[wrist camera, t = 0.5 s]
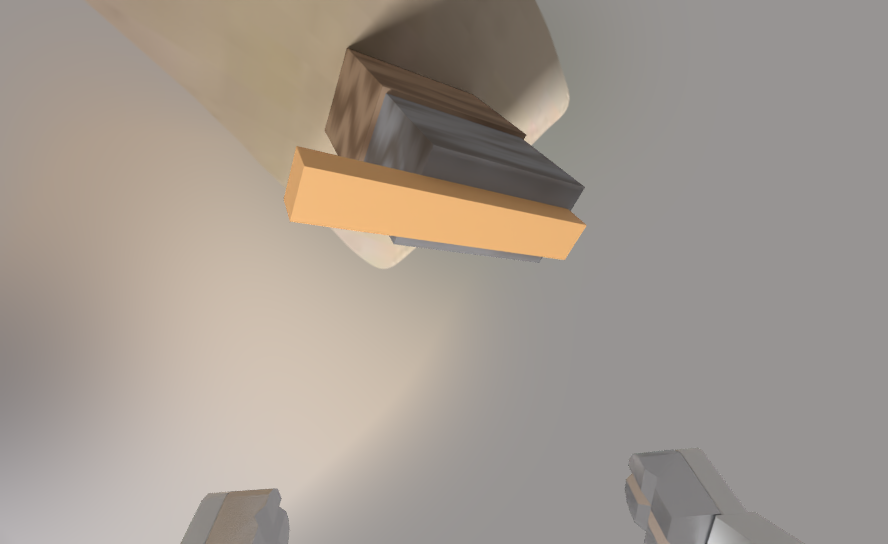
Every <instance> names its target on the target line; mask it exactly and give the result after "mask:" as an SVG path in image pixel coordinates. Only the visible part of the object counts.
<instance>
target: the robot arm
mask: <svg viewBox="0 0 888 544" xmlns="http://www.w3.org/2000/svg"><path fill="white" fill-rule="evenodd" d="M628 466H629V468H630V470H631V472H632V474H631V475H630V476H629V477H628V478H627V479H626V484H625V493H626V500H627V504H628V507H629V510H630V513H631V515H632V517H633V520H634V522H635V523H636V524H637V525H638V526H640V527H641V528H642V529H644V530H645V531H646V535H645V540H644V543H645V544H804V543H803V542H801V541H800V540H798V539H797V538H795V537H794V536H792V535H790V534H789V533H787V532H786V531H784V530H783V529H781V528H779V527H778V526H776V525H775V524H773V523H772V522H770V521H768V520H767V519H765V518H764V517H762V516H761V515H759V514H757V513H756V512H747V510H746V509H745V508H744V506H743V505H742V503H741V502H740V501H739V499H738V498H737V497H736V495H735V494H734V493H733V491H732V490H731V489H730V487H729V486H728V484H727V483H726V482H725V480H724V479H723V478H722V476H721V475H720V474H719V472H718V471H717V470H716V468H715V467H714V466H713V464H712V463H711V461H710V460H709V459H708V457H707V456H706V455H705V453H704V452H703V451H702V450H701V449H699V448H690V449H679V450H664V451H656V452H646V453H638V454H632V455H631V457H630V459H629V464H628ZM280 501H281V496H280V493H279V491H278V489H261V490H246V491H231V492H219V493H209V494H207V496H206V497H205V498H204V499H203V500H202V501H201V503H200V505H199V507H198V509H197V511H196V513H195V515H194V517H193V519H192V522H191V523H190V525H189V527H188V529H187V531H186V533H185V536H184V537H183V539H182V542H181V544H288V539H289V520H288V516H287V513H286V511H285V510H283V509H282V508H280V507H279V505H280Z"/></svg>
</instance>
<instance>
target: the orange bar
mask: <svg viewBox="0 0 888 544" xmlns="http://www.w3.org/2000/svg"><path fill="white" fill-rule="evenodd" d="M284 202H285V205H286V209H287V212H288V216H289V219H290V222H297V223H305V224H311V225H319V226H326V227H333V228H340V229H347V230H354V231H361V232H369V233H376V234H383V235H390V236H397V237H404V238H411V239H418V240H426V241H433V242H440V243H447V244H454V245H461V246H468V247H476V248H483V249H490V250H497V251H504V252H511V253H518V254H526V255H533V256H540V257H547V258H554V259H562V260H565V258H566V257H567V255H568V254H569V252H570V251H571V249H572V247H573V246H574V244H575V242H576V241H577V240H578V238H579V236H580V234H581V233H582V232H583V230H584V229H585V227H586V224H585V223H583V222H582V221H581V220H580V219H579V218H577V217H576V216H575V215H574V214H573V213H572V212H571V211H570V210H568V209H566V208H562V207H557V206H553V205H549V204H544V203H540V202H536V201H531V200H527V199H523V198H518V197H514V196H510V195H505V194H501V193H497V192H492V191H488V190H484V189H480V188H475V187H471V186H467V185H462V184H458V183H454V182H449V181H445V180H441V179H436V178H432V177H428V176H423V175H419V174H415V173H410V172H406V171H402V170H397V169H393V168H389V167H385V166H380V165H376V164H372V163H367V162H363V161H359V160H354V159H350V158H346V157H341V156H337V155H333V154H328V153H324V152H320V151H315V150H311V149H307V148H303V147H298V146H296V151H295V155H294V159H293V163H292V167H291V171H290V175H289V179H288V184H287V188H286V192H285V196H284Z"/></svg>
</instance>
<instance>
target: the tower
mask: <svg viewBox="0 0 888 544" xmlns="http://www.w3.org/2000/svg"><path fill="white" fill-rule="evenodd" d="M325 132H326V134H327V135H328V137H329V139H330V141H331V143H332V145H333V147H334V149H335V151H336V153H337V155H338V156H341V157H346V158H350V159H354V160H359V161H363V162H367V163H372V164H376V165H380V166H385V167H389V168H393V169H397V170H402V171H406V172H410V173H415V174H419V175H423V176H428V177H432V178H436V179H441V180H445V181H449V182H454V183H458V184H462V185H467V186H471V187H475V188H480V189H484V190H488V191H492V192H497V193H501V194H505V195H510V196H514V197H518V198H523V199H527V200H531V201H536V202H540V203H544V204H549V205H553V206H557V207H562V208H566V209H568V210H570V211H571V209H572V208H573V206H574V204H575V203H576V201H577V199H578V198H579V196H580V195H581V193H582V191H583V189H584V188H585V187H584V186H583V185H581V184H580V183H579V182H577V181H576V180H575V179H574V178H572V177H571V176H570V175H568V174H567V173H566V172H564V171H563V170H562V169H561V168H559V167H558V166H557V165H555V164H554V163H553V162H551V161H550V160H549V159H548V158H546V157H545V156H544V155H543V154H541V153H540V152H538V151H537V150H536V149H535V148H533V147H532V146H531V145H530V144H528V143H527V142H526V141H524V138H525V136H526V134H525V133H523V132H522V131H521V130H519V129H518V128H517V127H515V126H514V125H513V124H511V123H510V122H509V121H507V120H506V119H505V118H503V117H502V116H501V115H499V114H498V113H497V112H495V111H494V110H493V109H491V108H490V107H489V106H487V105H486V104H485V103H483V102H482V101H481V100H479V99H478V98H477V97H475V96H474V95H472V94H470V93H467V92H464V91H462V90H459V89H456V88H453V87H451V86H448V85H445V84H443V83H440V82H437V81H435V80H432V79H429V78H427V77H424V76H421V75H419V74H416V73H413V72H410V71H408V70H405V69H402V68H400V67H397V66H394V65H392V64H389V63H386V62H384V61H381V60H378V59H376V58H373V57H370V56H368V55H365V54H362V53H359V52H357V51H354V50H351V49H349V48H347V50H346V54H345V57H344V61H343V65H342V69H341V72H340V76H339V80H338V83H337V87H336V91H335V94H334V98H333V102H332V106H331V109H330V113H329V117H328V120H327V124H326V128H325ZM389 236H390V235H389ZM390 238H391V240H392V242H393V243H394V244H397V245H405V246H413V247H421V248H428V249H436V250H444V251H452V252H459V253H468V254H475V255H484V256H491V257H498V258H506V259H514V260H522V261H529V262H537V263H539V262H540V260H541V259H542V257H540V256H533V255H526V254H518V253H511V252H504V251H497V250H490V249H483V248H476V247H468V246H461V245H454V244H447V243H440V242H433V241H426V240H418V239H411V238H404V237H397V236H390Z"/></svg>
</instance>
